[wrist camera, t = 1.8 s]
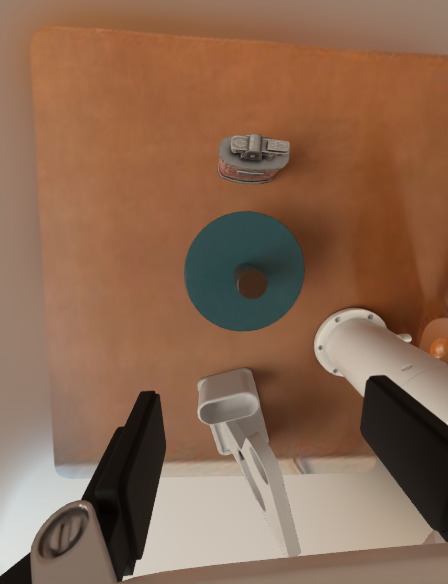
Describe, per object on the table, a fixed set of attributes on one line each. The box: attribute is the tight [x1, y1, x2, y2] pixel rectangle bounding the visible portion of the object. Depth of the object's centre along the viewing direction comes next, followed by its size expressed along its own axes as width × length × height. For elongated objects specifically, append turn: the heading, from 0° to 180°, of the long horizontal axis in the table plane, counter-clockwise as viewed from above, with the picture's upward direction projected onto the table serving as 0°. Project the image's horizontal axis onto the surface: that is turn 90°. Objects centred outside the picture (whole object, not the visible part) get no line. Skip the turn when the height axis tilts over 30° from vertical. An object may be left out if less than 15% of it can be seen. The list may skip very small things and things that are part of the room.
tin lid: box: [184, 212, 305, 331], centre depth 22 cm, size 13×13×6 cm
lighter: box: [218, 134, 290, 184], centre depth 28 cm, size 8×3×10 cm, turn 86°
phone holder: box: [198, 368, 301, 558], centre depth 33 cm, size 17×10×18 cm, turn 14°
